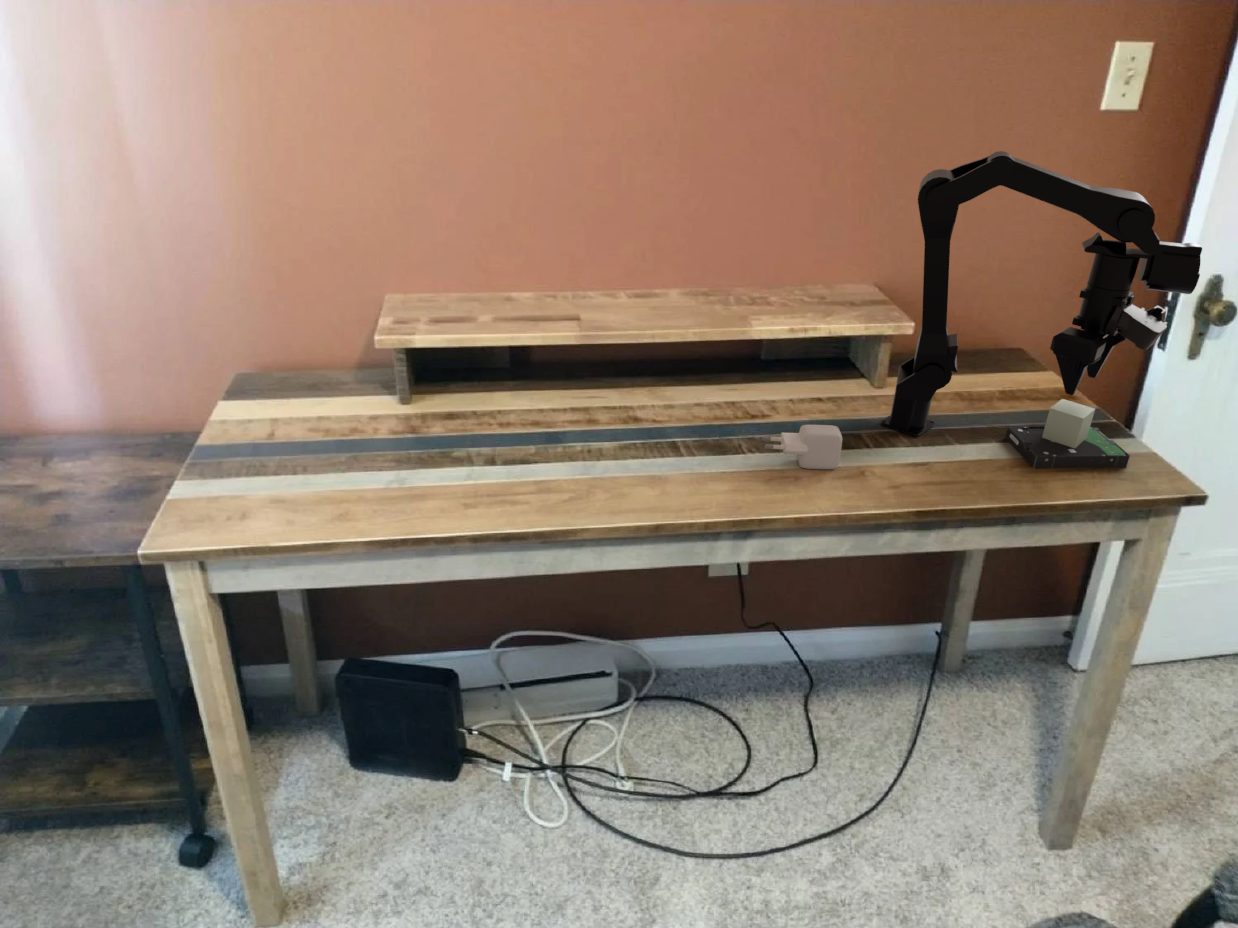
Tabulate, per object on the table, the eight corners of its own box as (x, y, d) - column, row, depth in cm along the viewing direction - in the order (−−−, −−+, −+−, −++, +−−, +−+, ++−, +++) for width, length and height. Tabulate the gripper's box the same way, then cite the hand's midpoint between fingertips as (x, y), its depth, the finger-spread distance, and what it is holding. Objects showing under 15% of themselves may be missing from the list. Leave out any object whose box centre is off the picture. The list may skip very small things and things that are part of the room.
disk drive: (1033, 473, 145) (1127, 471, 146) (1037, 457, 143) (1132, 454, 145) (1002, 441, 154) (1091, 439, 155) (1006, 425, 152) (1095, 424, 154)
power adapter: (762, 470, 141) (767, 434, 138) (758, 455, 145) (762, 419, 142) (839, 473, 141) (845, 437, 138) (832, 457, 145) (838, 422, 143)
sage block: (1074, 448, 146) (1083, 418, 144) (1041, 437, 149) (1050, 408, 147) (1086, 438, 150) (1095, 408, 147) (1054, 427, 153) (1062, 398, 150)
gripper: (1148, 314, 127) (1115, 421, 135) (1189, 284, 139) (1157, 384, 147) (1063, 293, 134) (1036, 397, 141) (1109, 267, 146) (1082, 363, 153)
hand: (1080, 385), depth 145 cm, fingers open, 9 cm apart
